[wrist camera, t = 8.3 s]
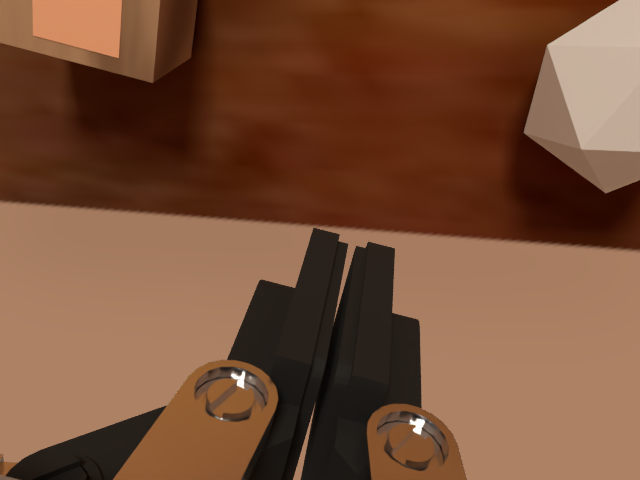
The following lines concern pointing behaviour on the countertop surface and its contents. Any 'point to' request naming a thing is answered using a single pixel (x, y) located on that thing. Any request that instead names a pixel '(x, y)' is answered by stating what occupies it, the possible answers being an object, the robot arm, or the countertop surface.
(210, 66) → the countertop surface
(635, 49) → the die
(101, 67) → the block
